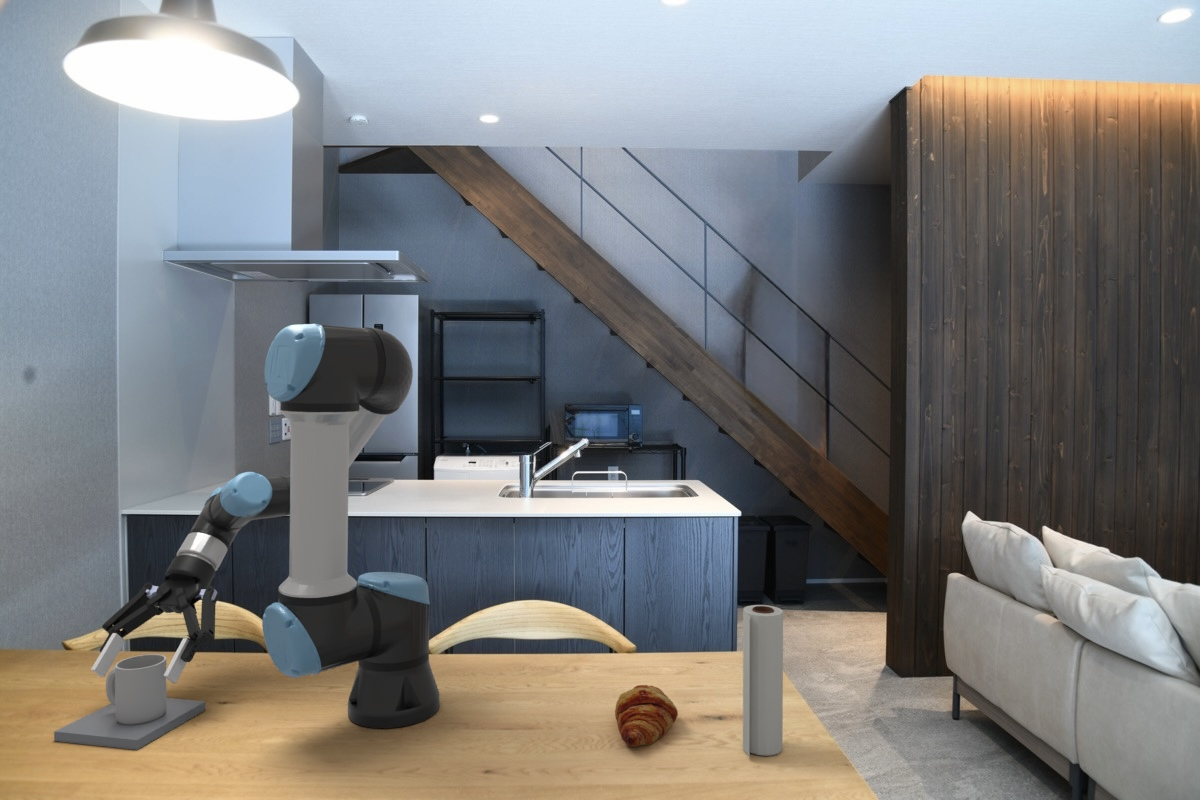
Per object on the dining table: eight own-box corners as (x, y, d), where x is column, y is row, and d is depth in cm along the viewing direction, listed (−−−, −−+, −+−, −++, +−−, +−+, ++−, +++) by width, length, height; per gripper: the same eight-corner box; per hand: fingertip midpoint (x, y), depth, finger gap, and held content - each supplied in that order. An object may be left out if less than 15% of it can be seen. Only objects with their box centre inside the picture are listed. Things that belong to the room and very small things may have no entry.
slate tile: (205, 710, 134) (205, 701, 134) (137, 750, 120) (137, 740, 120) (129, 703, 137) (129, 694, 137) (54, 741, 123) (54, 731, 123)
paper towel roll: (768, 736, 124) (769, 601, 124) (790, 753, 119) (791, 612, 118) (728, 743, 122) (728, 606, 122) (748, 761, 116) (749, 617, 116)
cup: (144, 727, 124) (143, 671, 124) (89, 722, 126) (88, 666, 126) (176, 709, 131) (176, 655, 131) (124, 704, 133) (124, 651, 133)
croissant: (639, 719, 139) (618, 678, 140) (690, 697, 137) (668, 655, 138) (615, 775, 119) (591, 725, 119) (674, 749, 117) (650, 699, 117)
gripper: (266, 578, 144) (212, 692, 129) (147, 572, 148) (81, 680, 134) (248, 555, 138) (189, 671, 124) (124, 549, 143) (54, 660, 129)
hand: (133, 676), depth 129 cm, fingers open, 13 cm apart
